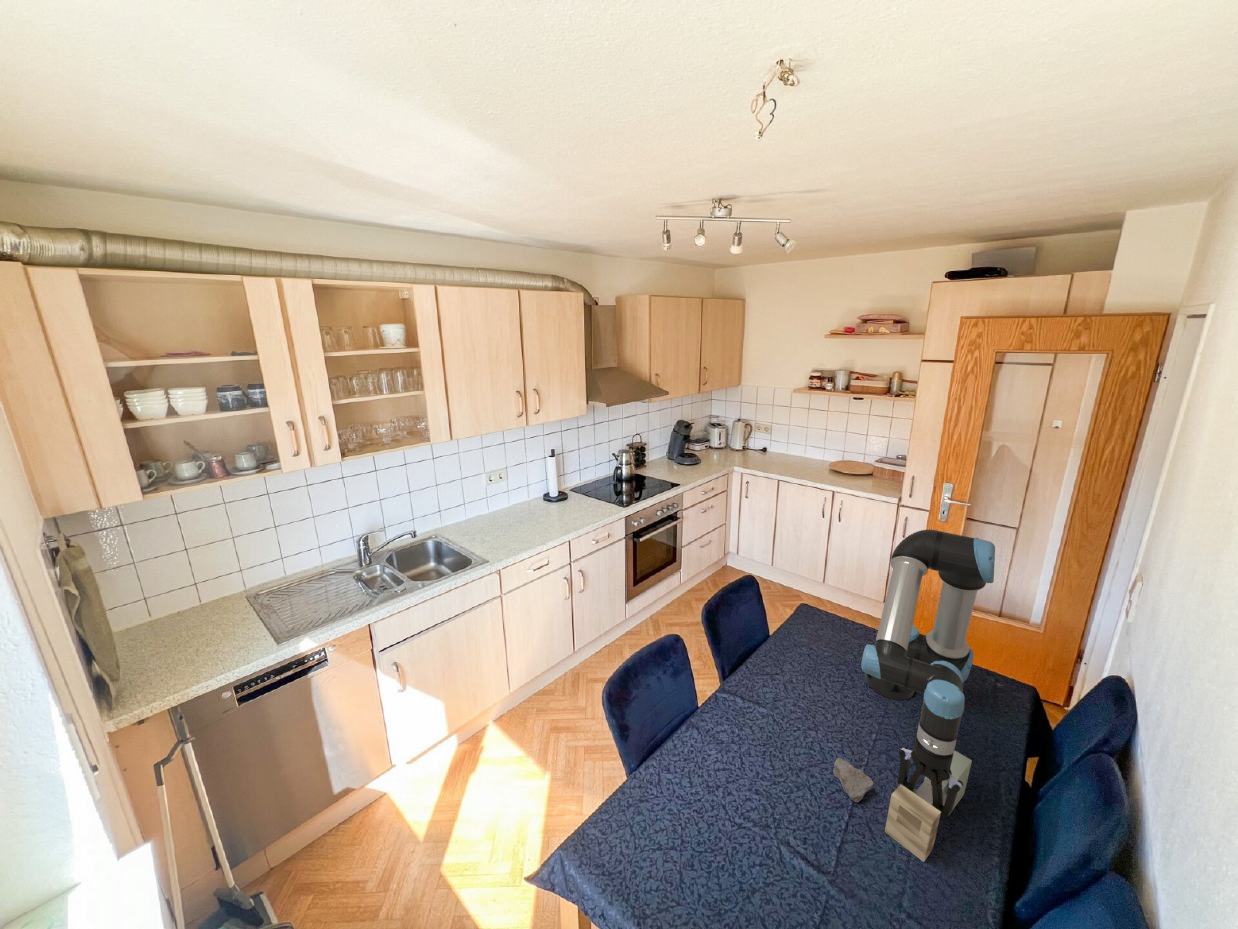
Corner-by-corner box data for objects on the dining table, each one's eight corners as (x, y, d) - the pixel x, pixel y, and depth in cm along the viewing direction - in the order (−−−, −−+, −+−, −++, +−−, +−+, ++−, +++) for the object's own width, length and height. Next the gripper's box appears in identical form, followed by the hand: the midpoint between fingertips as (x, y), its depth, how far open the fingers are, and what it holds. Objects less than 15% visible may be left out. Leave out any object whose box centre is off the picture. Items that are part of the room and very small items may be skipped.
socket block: (893, 820, 124) (900, 784, 120) (932, 849, 117) (941, 811, 113) (884, 831, 121) (891, 794, 118) (923, 862, 114) (932, 823, 111)
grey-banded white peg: (934, 777, 129) (936, 765, 128) (950, 788, 126) (953, 776, 125) (902, 816, 118) (904, 804, 117) (919, 829, 115) (922, 816, 114)
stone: (856, 809, 127) (859, 791, 125) (823, 780, 135) (825, 763, 133) (875, 794, 131) (877, 776, 129) (842, 767, 139) (844, 750, 137)
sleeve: (936, 777, 136) (943, 744, 133) (964, 794, 130) (971, 760, 127) (920, 796, 130) (927, 762, 127) (948, 816, 125) (956, 781, 122)
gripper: (890, 729, 119) (877, 803, 125) (970, 778, 106) (951, 858, 112) (904, 715, 123) (891, 787, 130) (982, 760, 110) (963, 839, 116)
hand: (919, 820), depth 121 cm, fingers closed on grey-banded white peg, 4 cm apart
